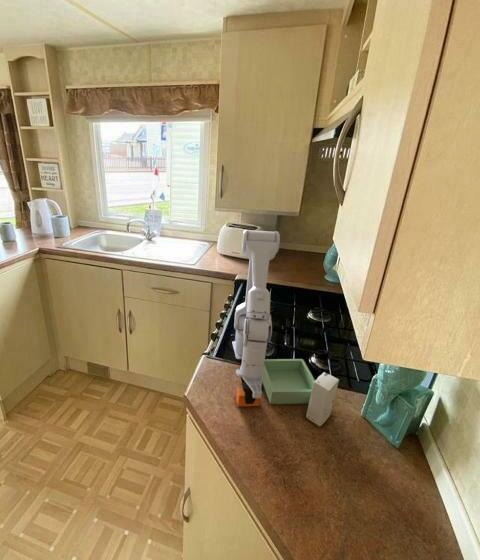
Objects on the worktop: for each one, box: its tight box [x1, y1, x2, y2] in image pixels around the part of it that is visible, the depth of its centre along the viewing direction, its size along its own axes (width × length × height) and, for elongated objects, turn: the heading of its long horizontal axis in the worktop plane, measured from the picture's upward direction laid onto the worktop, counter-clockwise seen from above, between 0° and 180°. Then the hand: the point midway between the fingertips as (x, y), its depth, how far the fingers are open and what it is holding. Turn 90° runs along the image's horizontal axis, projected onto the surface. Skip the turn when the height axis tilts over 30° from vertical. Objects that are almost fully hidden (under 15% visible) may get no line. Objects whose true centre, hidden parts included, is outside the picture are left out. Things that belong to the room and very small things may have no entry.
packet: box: [235, 387, 262, 407], centre depth 87 cm, size 3×6×4 cm, turn 93°
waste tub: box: [262, 358, 316, 405], centre depth 93 cm, size 14×14×4 cm
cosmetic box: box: [305, 371, 340, 427], centre depth 81 cm, size 6×4×12 cm
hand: (248, 397), depth 87 cm, fingers closed on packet, 3 cm apart
